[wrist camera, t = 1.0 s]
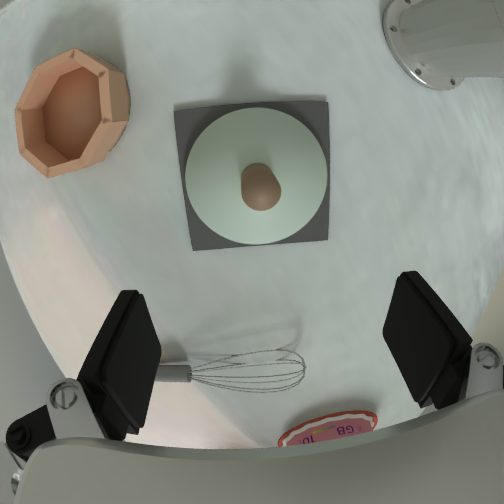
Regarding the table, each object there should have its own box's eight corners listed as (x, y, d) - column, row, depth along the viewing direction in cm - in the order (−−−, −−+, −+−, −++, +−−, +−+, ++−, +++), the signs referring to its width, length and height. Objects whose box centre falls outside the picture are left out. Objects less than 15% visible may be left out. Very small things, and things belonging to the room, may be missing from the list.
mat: (326, 102, 24) (328, 102, 24) (326, 238, 31) (327, 240, 31) (174, 111, 24) (173, 111, 24) (193, 249, 31) (192, 250, 31)
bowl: (127, 45, 20) (107, 35, 16) (136, 152, 26) (117, 160, 21) (39, 80, 20) (13, 79, 16) (50, 174, 26) (25, 185, 21)
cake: (382, 396, 49) (397, 436, 40) (372, 437, 60) (381, 467, 51) (268, 426, 51) (272, 469, 41) (286, 459, 62) (289, 491, 53)
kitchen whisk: (92, 351, 39) (80, 379, 33) (301, 334, 38) (310, 368, 33) (108, 374, 42) (98, 402, 36) (302, 361, 41) (309, 393, 36)
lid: (323, 106, 24) (344, 105, 19) (323, 236, 31) (340, 261, 25) (179, 115, 24) (164, 115, 19) (196, 246, 30) (188, 274, 25)
